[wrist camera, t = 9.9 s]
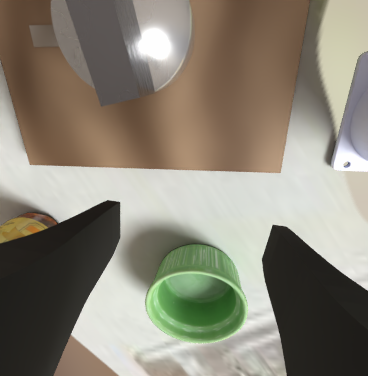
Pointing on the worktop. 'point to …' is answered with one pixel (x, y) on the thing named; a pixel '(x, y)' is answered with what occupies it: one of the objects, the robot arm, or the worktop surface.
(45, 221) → the sauce bottle
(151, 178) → the worktop surface
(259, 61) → the baseplate
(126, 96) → the silver rounded piece
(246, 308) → the ramekin
